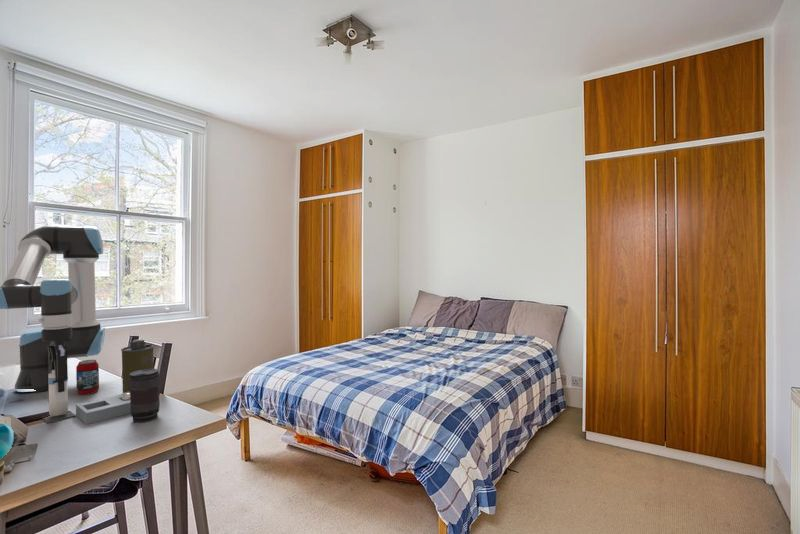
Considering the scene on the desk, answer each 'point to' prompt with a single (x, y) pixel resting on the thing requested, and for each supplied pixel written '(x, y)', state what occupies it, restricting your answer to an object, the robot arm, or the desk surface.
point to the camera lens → (144, 394)
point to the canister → (135, 360)
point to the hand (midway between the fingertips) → (58, 399)
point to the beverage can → (87, 377)
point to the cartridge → (54, 407)
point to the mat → (58, 417)
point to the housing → (102, 409)
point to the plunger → (126, 396)
